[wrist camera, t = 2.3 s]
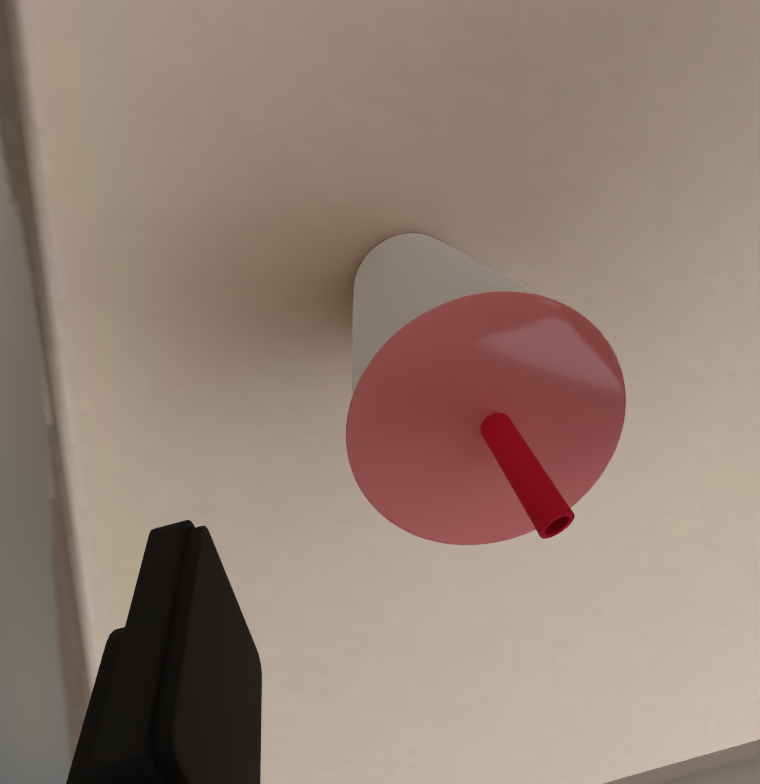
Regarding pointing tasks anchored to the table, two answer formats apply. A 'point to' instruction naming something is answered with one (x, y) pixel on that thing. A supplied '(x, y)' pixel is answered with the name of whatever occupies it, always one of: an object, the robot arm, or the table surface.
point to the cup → (474, 397)
